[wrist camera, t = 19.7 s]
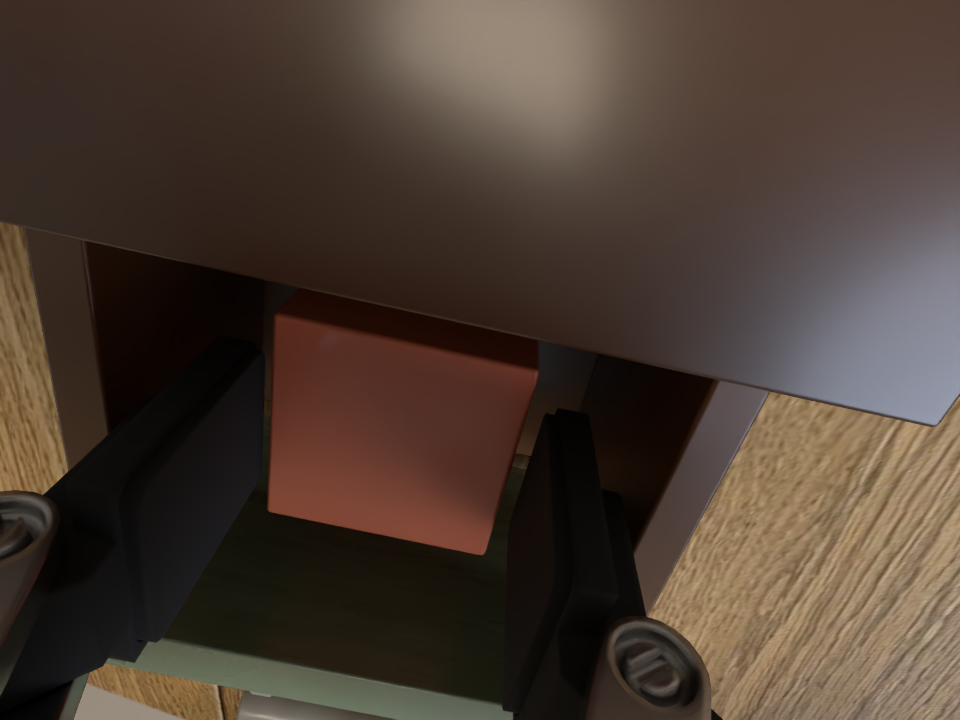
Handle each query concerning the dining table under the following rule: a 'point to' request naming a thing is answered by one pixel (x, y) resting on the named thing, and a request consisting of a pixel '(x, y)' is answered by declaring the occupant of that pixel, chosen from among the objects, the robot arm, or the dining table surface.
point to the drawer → (348, 552)
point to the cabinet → (531, 169)
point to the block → (394, 419)
